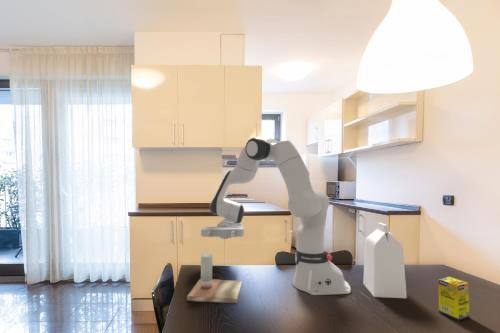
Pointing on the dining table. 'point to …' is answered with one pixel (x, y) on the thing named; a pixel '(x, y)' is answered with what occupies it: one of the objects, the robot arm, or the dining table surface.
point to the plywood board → (216, 291)
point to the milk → (384, 264)
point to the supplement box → (453, 298)
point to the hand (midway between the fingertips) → (219, 235)
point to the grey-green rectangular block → (206, 271)
